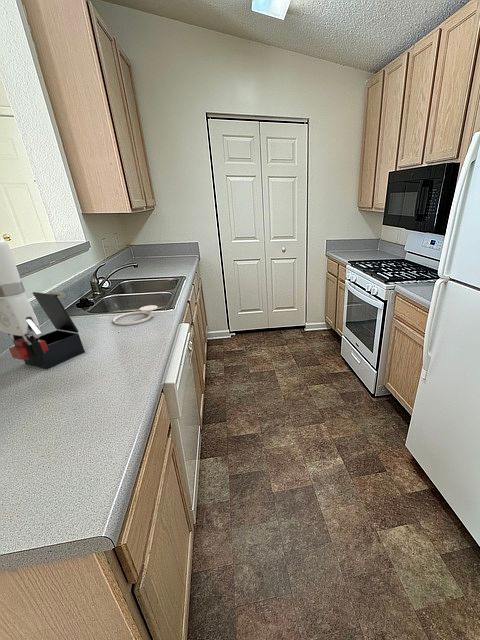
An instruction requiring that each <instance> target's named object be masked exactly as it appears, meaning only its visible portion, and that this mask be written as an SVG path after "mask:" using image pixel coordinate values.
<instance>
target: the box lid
mask: <svg viewBox="0 0 480 640" xmlns="http://www.w3.org/2000/svg"><path fill="white" fill-rule="evenodd" d="M32 295H33V296H34V298H35V299H36V301H37V303H38V304H39V306H40V307H41V308H42V310H43V312H44V313H45V315H46V316H47V317H48V319H49V320H50V322H51V324H52V325H53V326H54V328H55V330H62V331H67V332H73V333H78V334H79V332H80V331H79V329H78V328H77V326H76V325H75V323H74V321H73V320H72V318H71V316H70V315H69V313H68V312H67V310H66V308H65V307H64V305H63V304H62V302H61V300H60V299H61V298H62V299H65V298H66V297H67V295H66V293H65V292H62V291H61V292H60V291H53V290H51V291H49V293H46V292H45V293H44V292H36V291H34V292H32Z"/></svg>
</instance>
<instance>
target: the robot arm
mask: <svg viewBox="0 0 480 640" xmlns="http://www.w3.org/2000/svg"><path fill="white" fill-rule="evenodd" d="M20 275H21V274H20V273H19V270H18V267H17V265H16V262H15V259H14V257H13V254H12V251H11V249H10V246H9V243H8V242H7V241H6V239H4V238H2V237H0V332H2V333H4V334H7V335H8V336H9V337H10V340H11V342H13V341H14V340H17V339H20V338H24V340H25V342H26V343H27V345H25V346H26V348H27V351H28V353H29V356H30V358H32V359H34V358H36V357H39V356H42V355H43V354H44V353H43V350H42V348H41V345H40V339H39V338H40V336H42V335H43V333H42V331H40V324H39V321H38V318H37V316H36V315H37V314H36V313H35V311H34V309H33V307H32V304H31V303H30V301H29V298H28V297H27V295H26V294H27V292H26V289H25V286H24V284H23V280H22V278H21V276H20ZM28 337H30V338H28Z"/></svg>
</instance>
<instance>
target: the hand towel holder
mask: <svg viewBox="0 0 480 640" xmlns="http://www.w3.org/2000/svg"><path fill="white" fill-rule="evenodd" d="M157 308H158V305H152V304H150V305H145V306H142V307H139V311H130V312H125V313H123V314H122V313H121V314H119V315H116V316H114V317H113V319H112V323H113V324H115V325H118V326H130V325H137V324H141V323H144V322H146V321H148V320H150V319H151V318H152V317H154V315H153V313H152V311H155V310H157ZM141 314H142V315H147V317H145V318H142V319H139V320H135V321H129V322H125V321H124V322H121V321H117V320H118V319H120V318H122V317H123V318H124V317H126V316H131V315H141Z"/></svg>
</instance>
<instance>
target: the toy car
mask: <svg viewBox="0 0 480 640" xmlns="http://www.w3.org/2000/svg"><path fill="white" fill-rule="evenodd" d="M28 338H30V336H28ZM12 342H13V346H11V347H9V348H8V350H9V352H10V354H11V357H12V358H13V359H17V360H21V361H24V360H26V361H27V360H29V359H30V356H29V353H28V351H27V348H26V346H25V345H27V343H26V342H25V340H24V338H20V339H17V340H14V341H12ZM40 345H41V348H42V350H43V353H44V354H45V353H46V352H47V350H48V347H47V344H46V342H45V341H43V340H40Z"/></svg>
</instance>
